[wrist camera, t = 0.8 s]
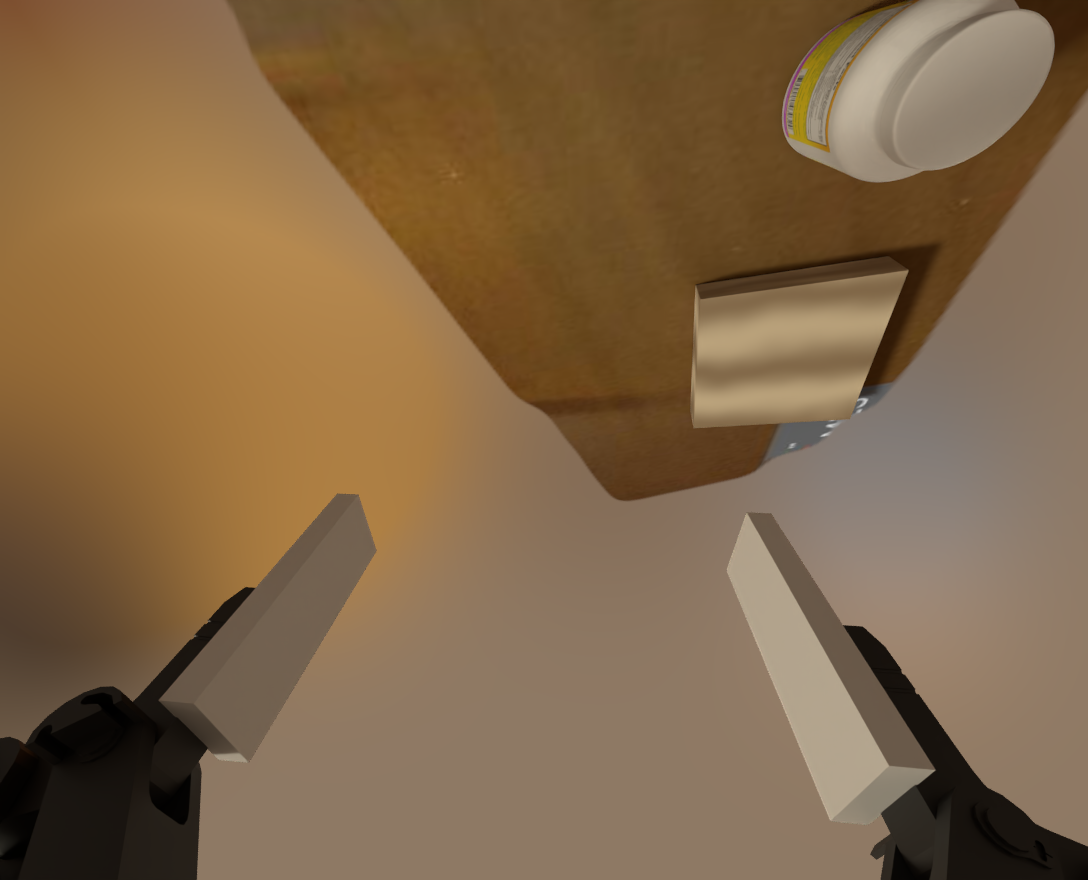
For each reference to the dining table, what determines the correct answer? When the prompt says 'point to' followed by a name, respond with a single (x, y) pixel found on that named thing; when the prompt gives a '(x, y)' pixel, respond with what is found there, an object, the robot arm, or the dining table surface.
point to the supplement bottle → (916, 86)
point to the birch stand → (789, 342)
